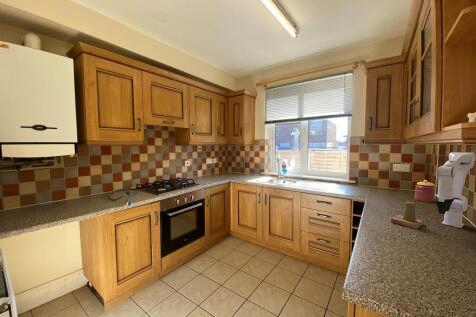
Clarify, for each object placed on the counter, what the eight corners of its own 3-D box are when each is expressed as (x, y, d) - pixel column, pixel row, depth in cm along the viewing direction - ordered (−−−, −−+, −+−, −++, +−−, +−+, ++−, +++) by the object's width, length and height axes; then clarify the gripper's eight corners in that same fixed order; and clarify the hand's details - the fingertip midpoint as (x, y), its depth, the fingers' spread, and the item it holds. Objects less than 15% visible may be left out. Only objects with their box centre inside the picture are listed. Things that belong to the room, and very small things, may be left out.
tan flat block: (398, 218, 129) (398, 214, 129) (422, 224, 119) (423, 220, 119) (390, 222, 122) (391, 218, 122) (416, 229, 112) (416, 224, 112)
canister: (437, 203, 160) (438, 181, 159) (416, 201, 167) (417, 180, 166) (432, 199, 171) (433, 179, 170) (412, 197, 178) (413, 178, 177)
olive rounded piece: (402, 217, 124) (403, 200, 123) (415, 219, 120) (416, 201, 119) (403, 220, 119) (404, 202, 118) (416, 222, 115) (417, 204, 115)
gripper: (439, 185, 116) (437, 207, 117) (431, 188, 108) (429, 212, 109) (456, 187, 110) (455, 211, 111) (450, 191, 102) (448, 216, 103)
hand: (443, 212), depth 110 cm, fingers open, 7 cm apart
